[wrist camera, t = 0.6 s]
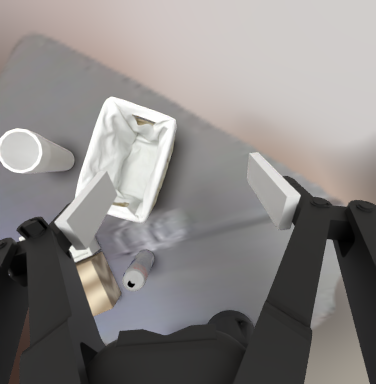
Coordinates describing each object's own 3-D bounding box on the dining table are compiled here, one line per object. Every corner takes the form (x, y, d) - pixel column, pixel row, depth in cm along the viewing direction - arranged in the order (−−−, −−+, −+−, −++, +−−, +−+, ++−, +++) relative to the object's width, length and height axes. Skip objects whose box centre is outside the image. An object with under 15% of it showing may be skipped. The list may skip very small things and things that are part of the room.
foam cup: (81, 174, 49) (44, 171, 36) (49, 177, 49) (0, 175, 36) (77, 142, 49) (38, 126, 36) (45, 144, 49) (-6, 130, 36)
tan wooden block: (121, 293, 51) (112, 308, 45) (72, 314, 51) (57, 331, 45) (102, 251, 50) (90, 260, 44) (52, 272, 50) (34, 284, 44)
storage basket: (128, 119, 49) (103, 91, 34) (181, 137, 49) (179, 117, 35) (103, 197, 50) (69, 203, 35) (156, 214, 50) (144, 227, 35)
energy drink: (133, 261, 50) (117, 284, 38) (142, 246, 50) (129, 265, 38) (148, 270, 51) (137, 296, 39) (157, 255, 50) (149, 277, 39)
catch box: (100, 248, 50) (92, 254, 46) (51, 269, 50) (38, 278, 46) (83, 211, 50) (73, 214, 45) (33, 233, 50) (18, 237, 45)
